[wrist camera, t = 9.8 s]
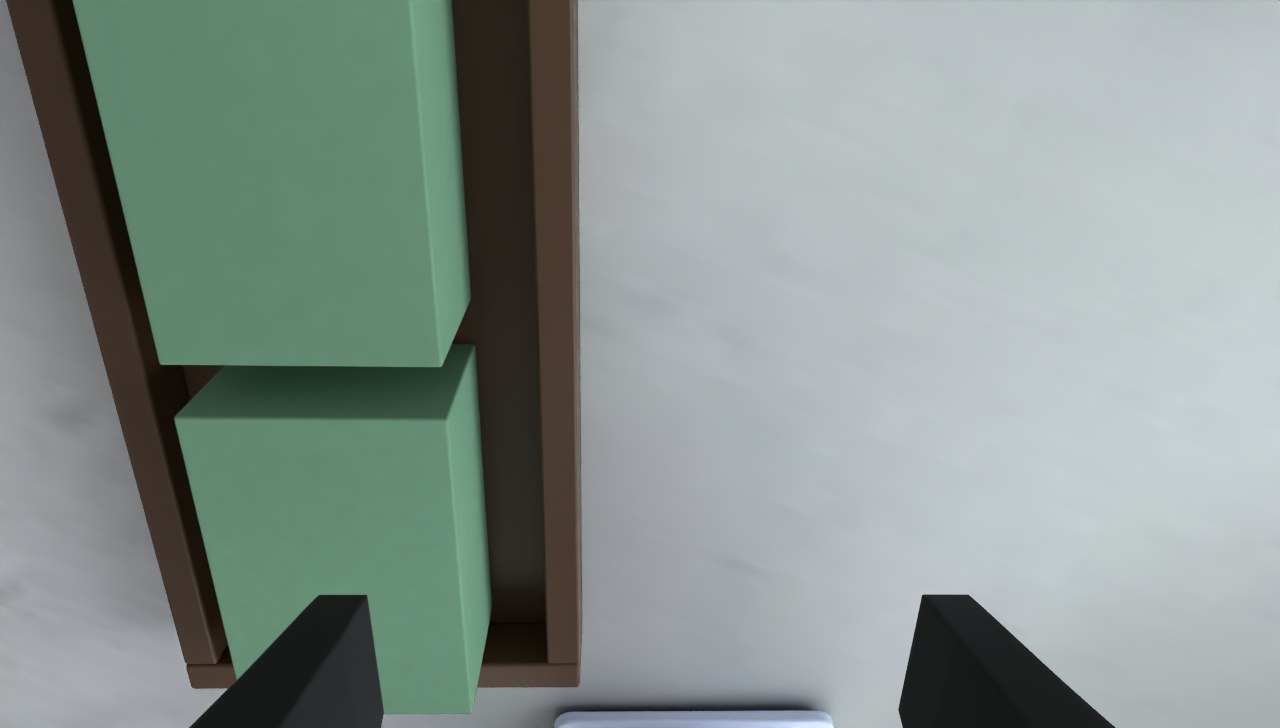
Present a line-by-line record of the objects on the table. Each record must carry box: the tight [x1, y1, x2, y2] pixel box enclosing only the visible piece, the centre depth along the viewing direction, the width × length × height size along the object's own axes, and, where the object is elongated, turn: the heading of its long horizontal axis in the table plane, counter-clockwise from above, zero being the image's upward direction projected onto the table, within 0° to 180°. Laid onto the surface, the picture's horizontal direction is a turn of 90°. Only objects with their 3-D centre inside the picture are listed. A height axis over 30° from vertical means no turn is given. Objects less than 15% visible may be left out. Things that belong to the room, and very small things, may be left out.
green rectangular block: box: [72, 0, 471, 367], centre depth 15 cm, size 8×5×4 cm, turn 179°
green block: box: [174, 344, 492, 714], centre depth 19 cm, size 8×5×4 cm, turn 179°
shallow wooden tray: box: [6, 0, 582, 689], centre depth 18 cm, size 19×10×2 cm, turn 179°
